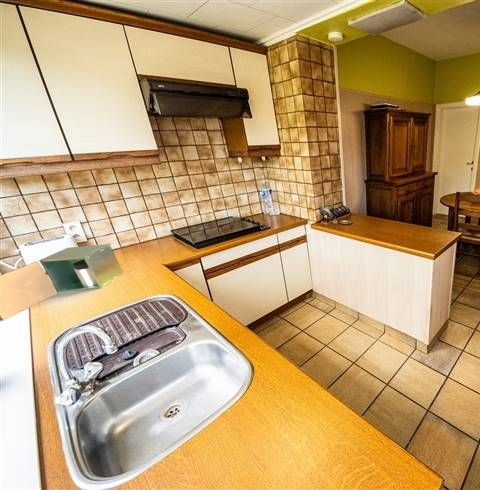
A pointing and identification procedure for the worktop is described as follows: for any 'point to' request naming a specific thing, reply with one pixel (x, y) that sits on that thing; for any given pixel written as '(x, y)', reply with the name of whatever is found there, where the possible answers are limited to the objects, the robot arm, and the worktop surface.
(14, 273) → the fridge door
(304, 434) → the worktop surface
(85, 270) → the jar
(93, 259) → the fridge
